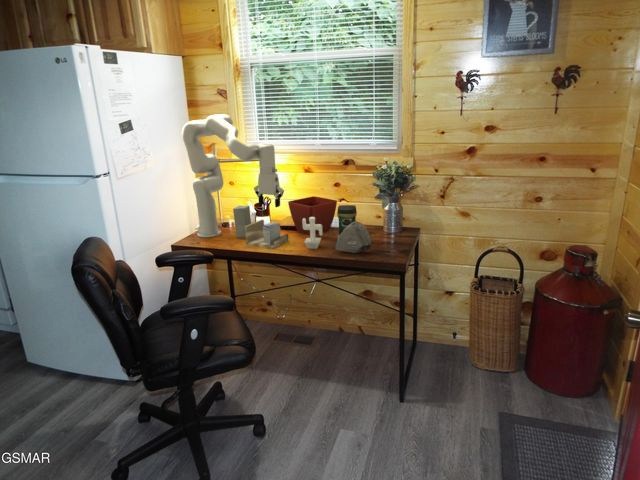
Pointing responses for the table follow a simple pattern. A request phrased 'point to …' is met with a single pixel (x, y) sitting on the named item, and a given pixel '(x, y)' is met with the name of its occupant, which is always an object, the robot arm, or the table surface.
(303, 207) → the plant pot
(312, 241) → the figurine
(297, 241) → the table surface
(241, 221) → the skincare box
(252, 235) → the grey angle bracket
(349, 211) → the coffee jar
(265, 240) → the medicine box
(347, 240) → the decorative rock
